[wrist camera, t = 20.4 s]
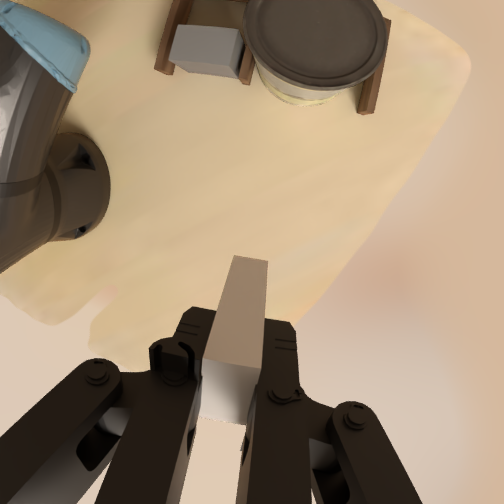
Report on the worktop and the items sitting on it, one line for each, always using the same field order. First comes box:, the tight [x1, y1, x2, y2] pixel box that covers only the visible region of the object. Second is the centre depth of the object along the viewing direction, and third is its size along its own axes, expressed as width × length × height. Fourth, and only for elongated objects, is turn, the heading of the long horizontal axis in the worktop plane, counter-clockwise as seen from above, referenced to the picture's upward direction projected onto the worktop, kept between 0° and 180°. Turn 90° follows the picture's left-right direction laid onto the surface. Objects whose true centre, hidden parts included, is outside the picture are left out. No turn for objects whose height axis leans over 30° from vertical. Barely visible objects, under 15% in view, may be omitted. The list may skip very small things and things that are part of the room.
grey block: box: [168, 25, 246, 79], centre depth 26 cm, size 6×4×7 cm, turn 78°
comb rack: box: [154, 0, 391, 115], centre depth 26 cm, size 23×12×4 cm, turn 78°
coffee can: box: [243, 0, 388, 107], centre depth 22 cm, size 10×10×14 cm
